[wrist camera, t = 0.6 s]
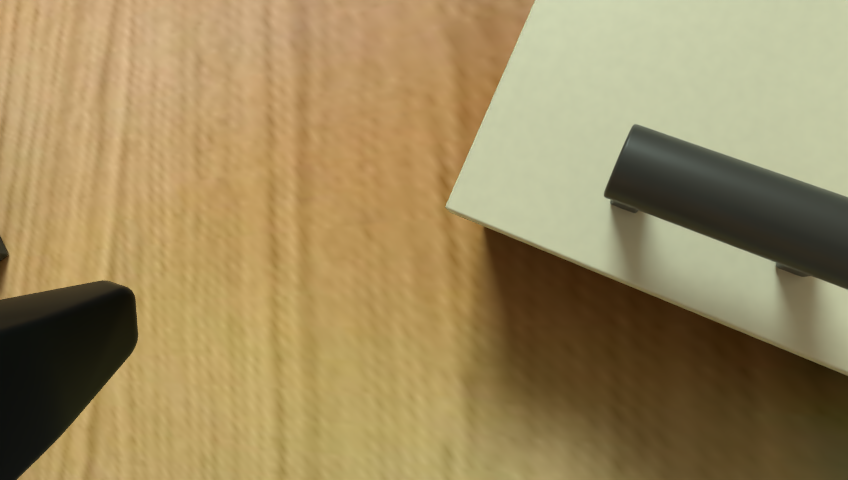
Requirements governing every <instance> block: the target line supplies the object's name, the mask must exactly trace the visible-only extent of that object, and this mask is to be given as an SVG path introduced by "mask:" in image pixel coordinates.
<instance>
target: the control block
mask: <svg viewBox="0 0 848 480" xmlns="http://www.w3.org/2000/svg"><path fill="white" fill-rule="evenodd" d="M7 255H8V252H7V250H6V248H5V246H4V244H3V241H2V239H1V237H0V260H2V259H3V258H5V257H6V256H7Z"/></svg>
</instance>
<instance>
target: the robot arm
mask: <svg viewBox="0 0 848 480" xmlns="http://www.w3.org/2000/svg"><path fill="white" fill-rule="evenodd" d="M137 339H138V328H137V314H136V300H135V295H134V294H133V292H132V290H130V289H129V288H128V287H125V286H122V285H119V284H116V283H114V282H111V281H97V282H92V283H86V284H81V285H76V286H71V287H65V288H60V289H55V290H50V291H44V292H39V293H34V294H28V295H23V296H18V297H13V298H7V299H2V300H0V480H17V479H18V478H19V477H20V476H21V475H22V474H23V473H24V472H25V471H26V470H27V469H28V468H29V467H30V466H31V465H32V464H33V463H34V462H35V461H36V460H37V459H38V458H39V457H40V456H41V455H42V454H43V453H44V452H45V451H46V450H47V449H48V448H49V447H50V446H51V445H52V444H53V443H54V442H55V441H56V440H57V439H58V438H59V437H60V436H61V435H62V434H63V433H64V432H65V430H66V429H67V428H68V427H69V426H70V425H71V424H72V423H73V421H74V420H75V419H76V418H77V417H78V416H79V414H80V413H81V412H82V411H83V410H84V409H85V407H86V406H87V405H88V404H89V403H90V402H91V400H92V399H93V398H94V397H95V396H96V394H97V393H98V392H99V391H100V390H101V389H102V387H103V386H104V385H105V384H106V383H107V382H108V380H109V379H110V378H111V377H112V376H113V375H114V373H115V372H116V371H117V370H118V369H119V368H120V366H121V365H122V364H123V363H124V362H125V360H126V359H127V358H128V357H129V356H130V355H131V353H132V352H133V350H134V348H135V346H136V343H137Z"/></svg>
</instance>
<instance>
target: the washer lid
mask: <svg viewBox="0 0 848 480" xmlns="http://www.w3.org/2000/svg"><path fill="white" fill-rule="evenodd" d="M446 209H447V210H448V211H449V212H451V213H453V214H455V215H458V216H460V217H463V218H465V219H467V220H470V221H472V222H475V223H477V224H480V225H482V226H484V227H487V228H489V229H492V230H494V231H497V232H499V233H502V234H504V235H506V236H509V237H511V238H514V239H516V240H519V241H521V242H523V243H526V244H528V245H531V246H533V247H536V248H538V249H540V250H543V251H545V252H548V253H550V254H553V255H555V256H557V257H560V258H562V259H565V260H567V261H570V262H572V263H574V264H577V265H579V266H582V267H584V268H587V269H589V270H591V271H594V272H596V273H599V274H601V275H604V276H606V277H608V278H611V279H613V280H616V281H618V282H621V283H623V284H625V285H628V286H630V287H633V288H635V289H638V290H640V291H642V292H645V293H647V294H650V295H652V296H655V297H657V298H660V299H662V300H664V301H667V302H669V303H672V304H674V305H677V306H679V307H681V308H684V309H686V310H689V311H691V312H694V313H696V314H698V315H701V316H703V317H706V318H708V319H711V320H713V321H715V322H718V323H720V324H723V325H725V326H728V327H730V328H732V329H735V330H737V331H740V332H742V333H745V334H747V335H749V336H752V337H754V338H757V339H759V340H762V341H764V342H766V343H769V344H771V345H774V346H776V347H779V348H781V349H783V350H786V351H788V352H791V353H793V354H796V355H798V356H801V357H803V358H805V359H808V360H810V361H813V362H815V363H818V364H820V365H822V366H825V367H827V368H830V369H832V370H835V371H837V372H839V373H842V374H844V375H847V376H848V0H535V2H534V4H533V6H532V8H531V11H530V13H529V15H528V18H527V20H526V22H525V25H524V27H523V29H522V31H521V34H520V36H519V38H518V41H517V43H516V45H515V48H514V50H513V52H512V54H511V57H510V59H509V61H508V64H507V66H506V68H505V71H504V73H503V75H502V77H501V80H500V82H499V84H498V87H497V89H496V91H495V94H494V96H493V98H492V100H491V103H490V105H489V107H488V110H487V112H486V114H485V117H484V119H483V121H482V123H481V126H480V128H479V130H478V133H477V135H476V137H475V140H474V142H473V144H472V146H471V149H470V151H469V153H468V156H467V158H466V160H465V162H464V165H463V167H462V169H461V172H460V174H459V176H458V179H457V181H456V183H455V185H454V188H453V190H452V192H451V195H450V197H449V199H448V202H447V204H446Z"/></svg>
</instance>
